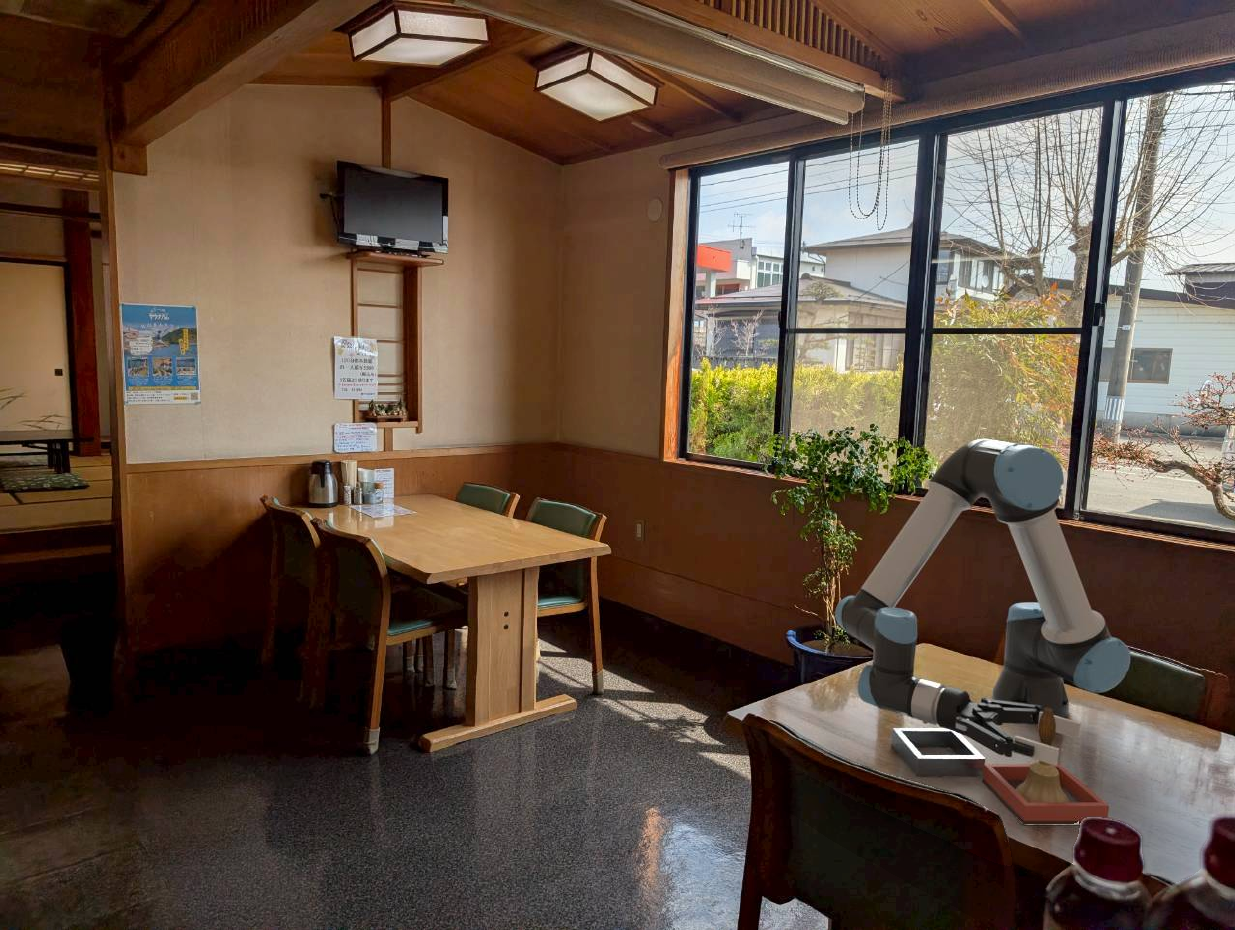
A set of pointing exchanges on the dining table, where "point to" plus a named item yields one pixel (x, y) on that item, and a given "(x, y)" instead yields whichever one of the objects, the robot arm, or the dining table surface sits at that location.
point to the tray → (1080, 804)
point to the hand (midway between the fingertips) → (1069, 743)
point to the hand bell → (1043, 770)
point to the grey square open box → (957, 765)
